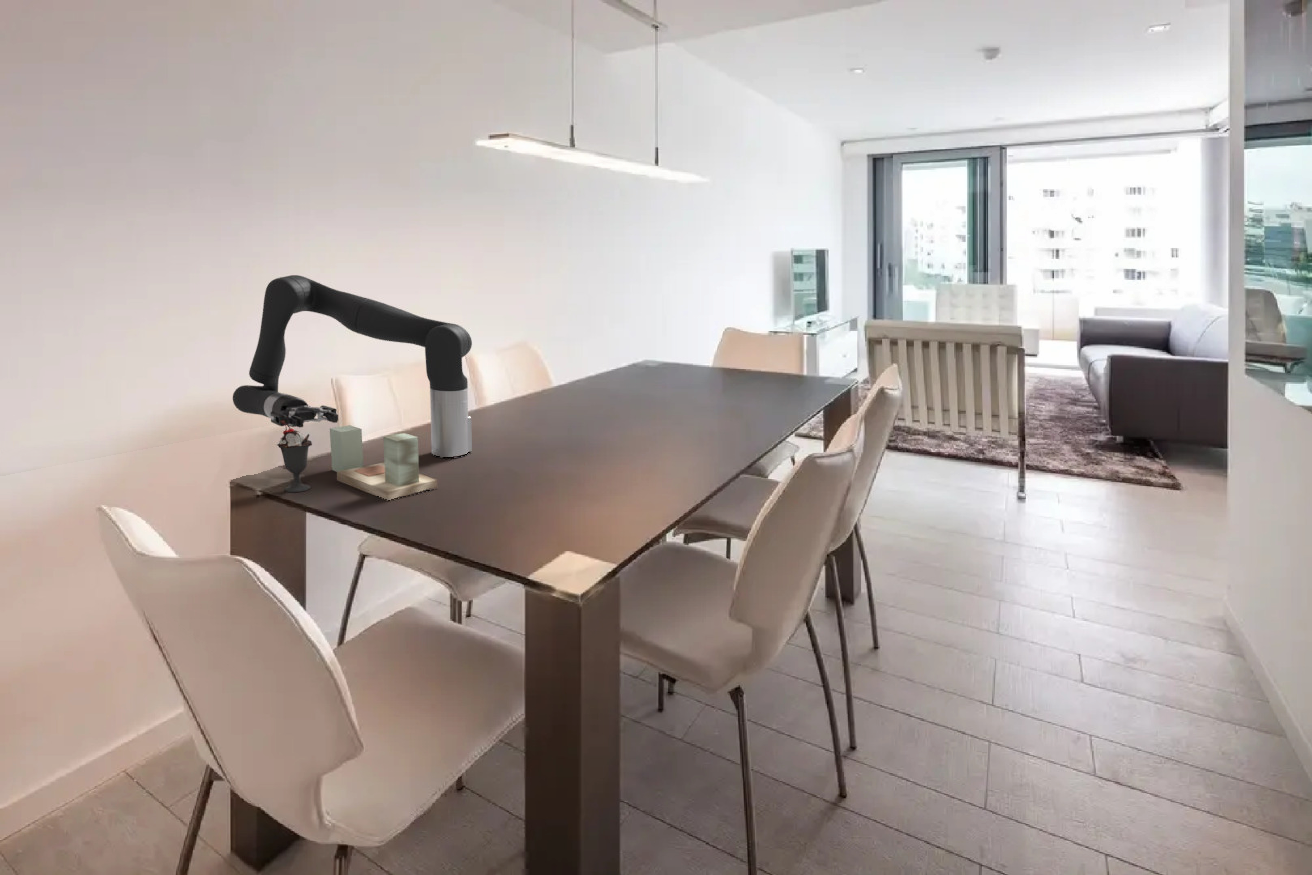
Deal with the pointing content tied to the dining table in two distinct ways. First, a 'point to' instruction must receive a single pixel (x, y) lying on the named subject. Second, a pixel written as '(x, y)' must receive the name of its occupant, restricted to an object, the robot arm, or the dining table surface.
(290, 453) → the sundae
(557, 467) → the dining table surface
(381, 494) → the board
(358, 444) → the green block
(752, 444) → the dining table surface
